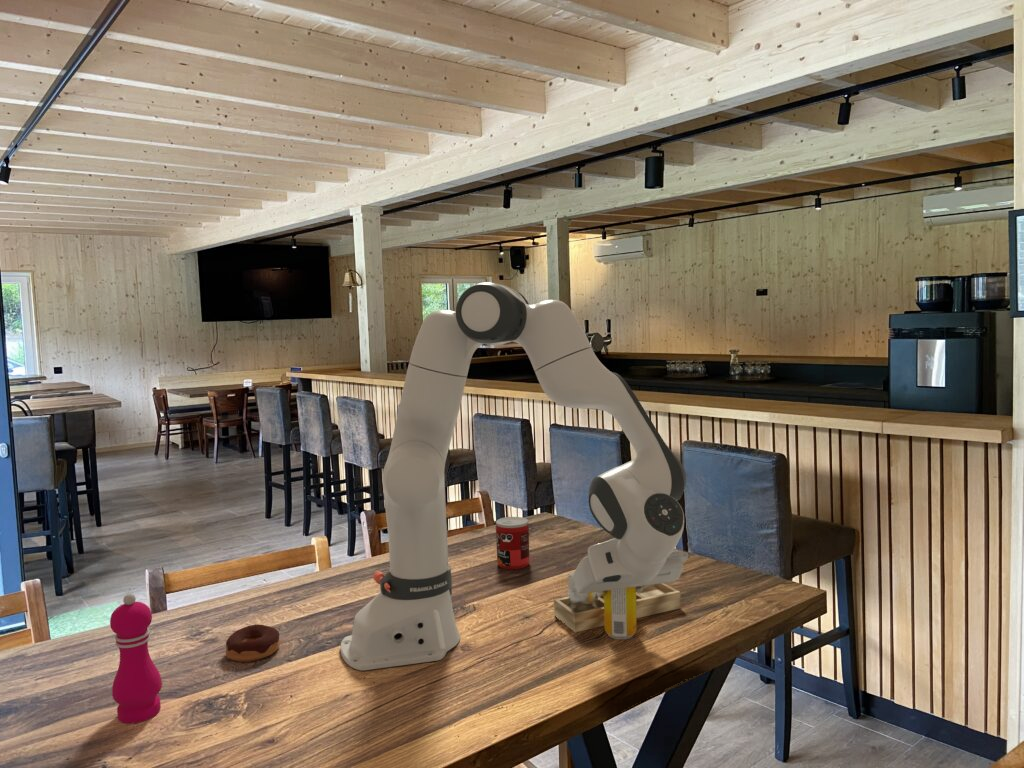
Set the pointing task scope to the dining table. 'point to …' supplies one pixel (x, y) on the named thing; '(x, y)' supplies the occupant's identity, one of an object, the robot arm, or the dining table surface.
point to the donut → (252, 643)
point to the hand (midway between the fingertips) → (618, 590)
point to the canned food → (512, 542)
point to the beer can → (620, 613)
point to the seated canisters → (581, 598)
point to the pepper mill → (134, 663)
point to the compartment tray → (647, 604)
